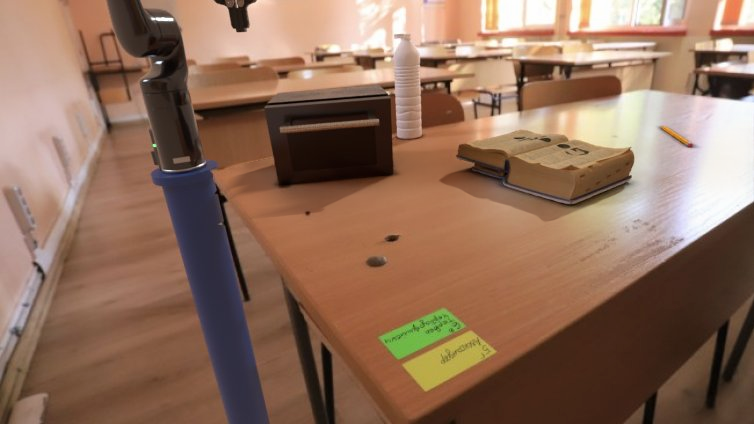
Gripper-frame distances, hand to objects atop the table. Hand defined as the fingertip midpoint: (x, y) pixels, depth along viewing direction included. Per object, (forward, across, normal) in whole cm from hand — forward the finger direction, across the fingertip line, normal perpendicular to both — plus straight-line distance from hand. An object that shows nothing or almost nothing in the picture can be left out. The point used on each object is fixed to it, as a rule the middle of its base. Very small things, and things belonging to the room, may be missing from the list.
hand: (241, 31), depth 71 cm
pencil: (+27, -89, -6) cm, 94 cm away
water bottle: (+27, -32, -27) cm, 50 cm away
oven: (+27, -14, -6) cm, 31 cm away
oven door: (+27, -14, +5) cm, 31 cm away
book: (+27, -49, +12) cm, 58 cm away
